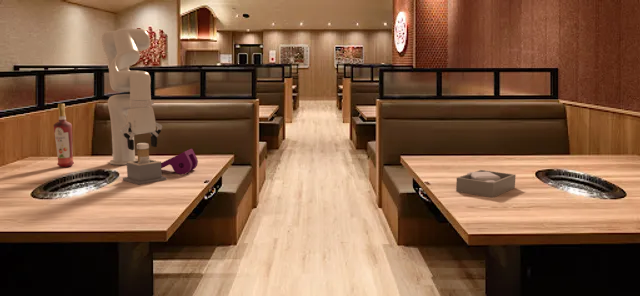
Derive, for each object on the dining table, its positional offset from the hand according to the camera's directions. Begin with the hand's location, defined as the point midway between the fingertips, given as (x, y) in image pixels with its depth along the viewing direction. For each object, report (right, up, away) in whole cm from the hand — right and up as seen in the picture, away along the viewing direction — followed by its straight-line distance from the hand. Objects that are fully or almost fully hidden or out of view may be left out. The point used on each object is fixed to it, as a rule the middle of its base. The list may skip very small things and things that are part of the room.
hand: (142, 147), depth 202 cm
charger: (+130, -15, -14) cm, 132 cm away
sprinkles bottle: (0, -12, +1) cm, 12 cm away
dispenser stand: (+130, -15, -14) cm, 132 cm away
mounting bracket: (+7, -11, +18) cm, 22 cm away
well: (0, -13, +1) cm, 13 cm away
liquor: (-44, -8, +29) cm, 54 cm away
